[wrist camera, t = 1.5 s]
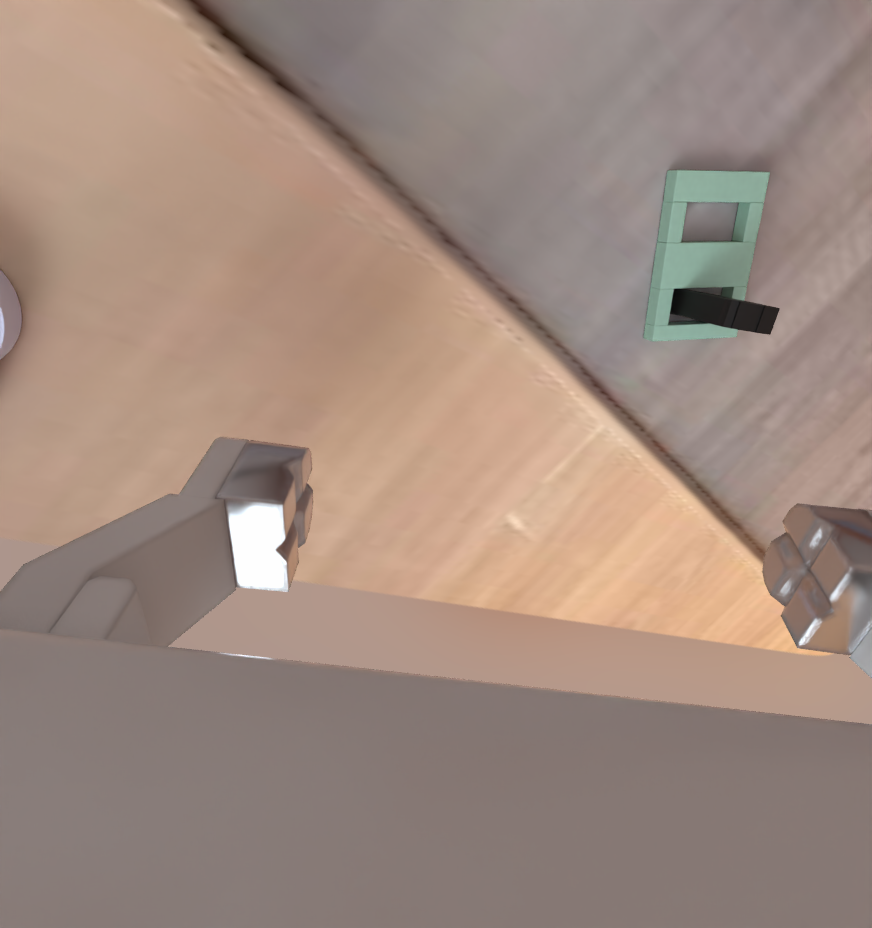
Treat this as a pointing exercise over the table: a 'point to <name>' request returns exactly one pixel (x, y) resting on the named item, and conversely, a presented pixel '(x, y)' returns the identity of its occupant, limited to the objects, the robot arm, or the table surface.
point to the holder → (703, 248)
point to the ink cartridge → (724, 311)
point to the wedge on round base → (8, 316)
